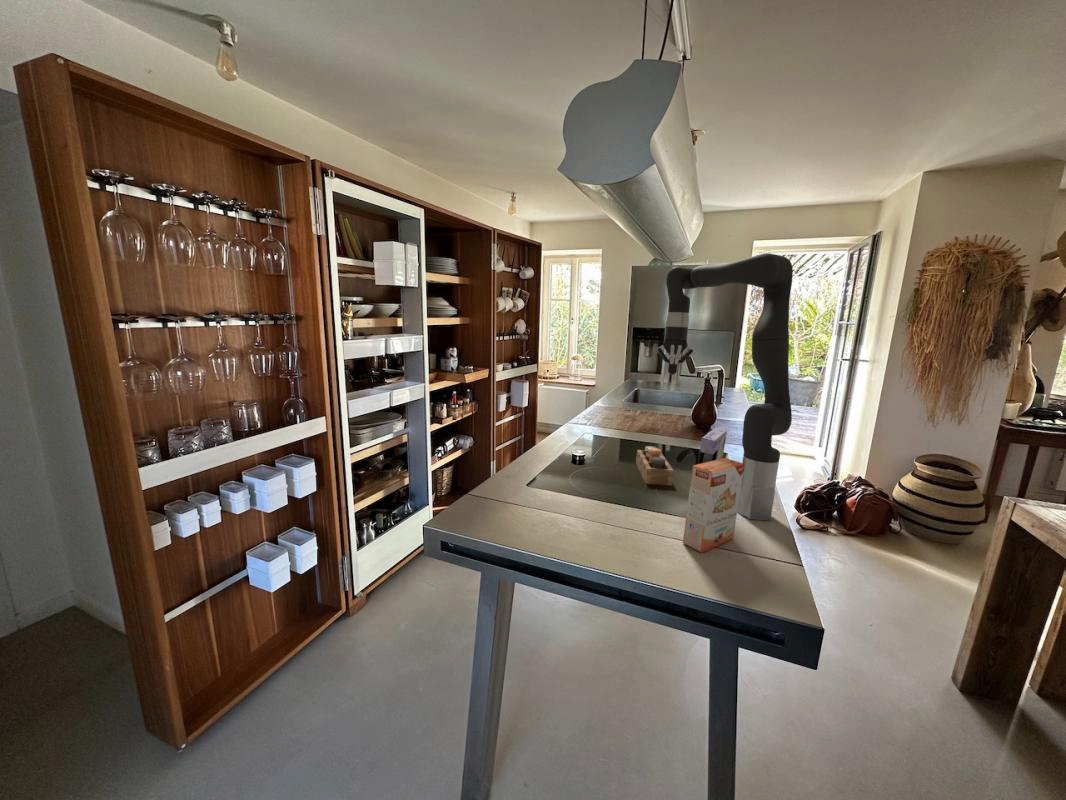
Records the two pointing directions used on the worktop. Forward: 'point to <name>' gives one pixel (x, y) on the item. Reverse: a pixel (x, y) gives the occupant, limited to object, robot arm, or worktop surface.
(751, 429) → the robot arm
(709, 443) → the cake pan box
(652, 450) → the terracotta plug
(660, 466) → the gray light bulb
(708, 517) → the cracker box
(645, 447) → the steel plug
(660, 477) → the light wood long tray
